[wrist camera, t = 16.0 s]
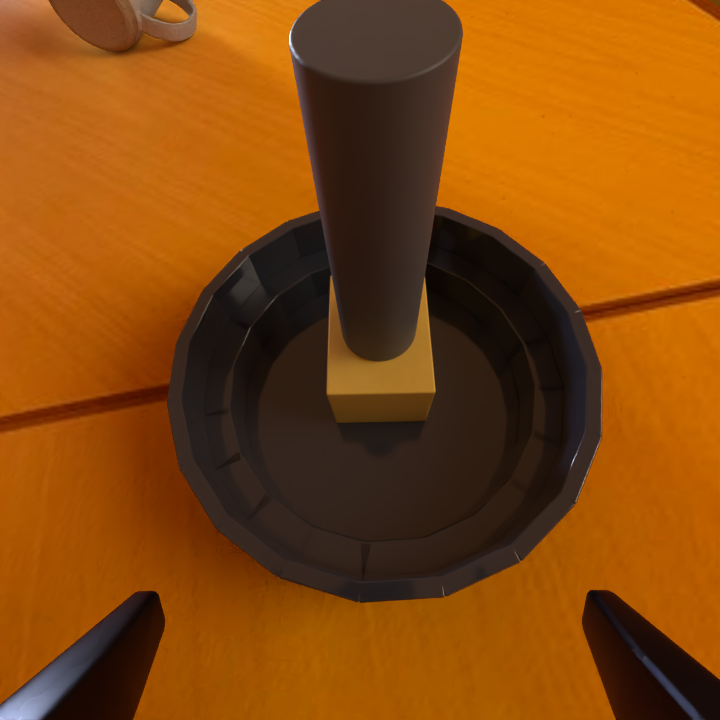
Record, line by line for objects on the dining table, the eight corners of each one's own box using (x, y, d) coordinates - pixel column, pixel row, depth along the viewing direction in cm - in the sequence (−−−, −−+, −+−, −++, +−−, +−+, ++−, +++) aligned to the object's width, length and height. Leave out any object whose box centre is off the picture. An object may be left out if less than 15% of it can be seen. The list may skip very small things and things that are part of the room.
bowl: (625, 415, 20) (698, 376, 15) (356, 690, 16) (347, 746, 11) (393, 221, 26) (396, 152, 21) (157, 381, 22) (99, 337, 17)
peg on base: (425, 421, 19) (527, 129, 6) (336, 423, 20) (236, 144, 6) (417, 316, 22) (474, -55, 8) (338, 318, 22) (271, -41, 9)
